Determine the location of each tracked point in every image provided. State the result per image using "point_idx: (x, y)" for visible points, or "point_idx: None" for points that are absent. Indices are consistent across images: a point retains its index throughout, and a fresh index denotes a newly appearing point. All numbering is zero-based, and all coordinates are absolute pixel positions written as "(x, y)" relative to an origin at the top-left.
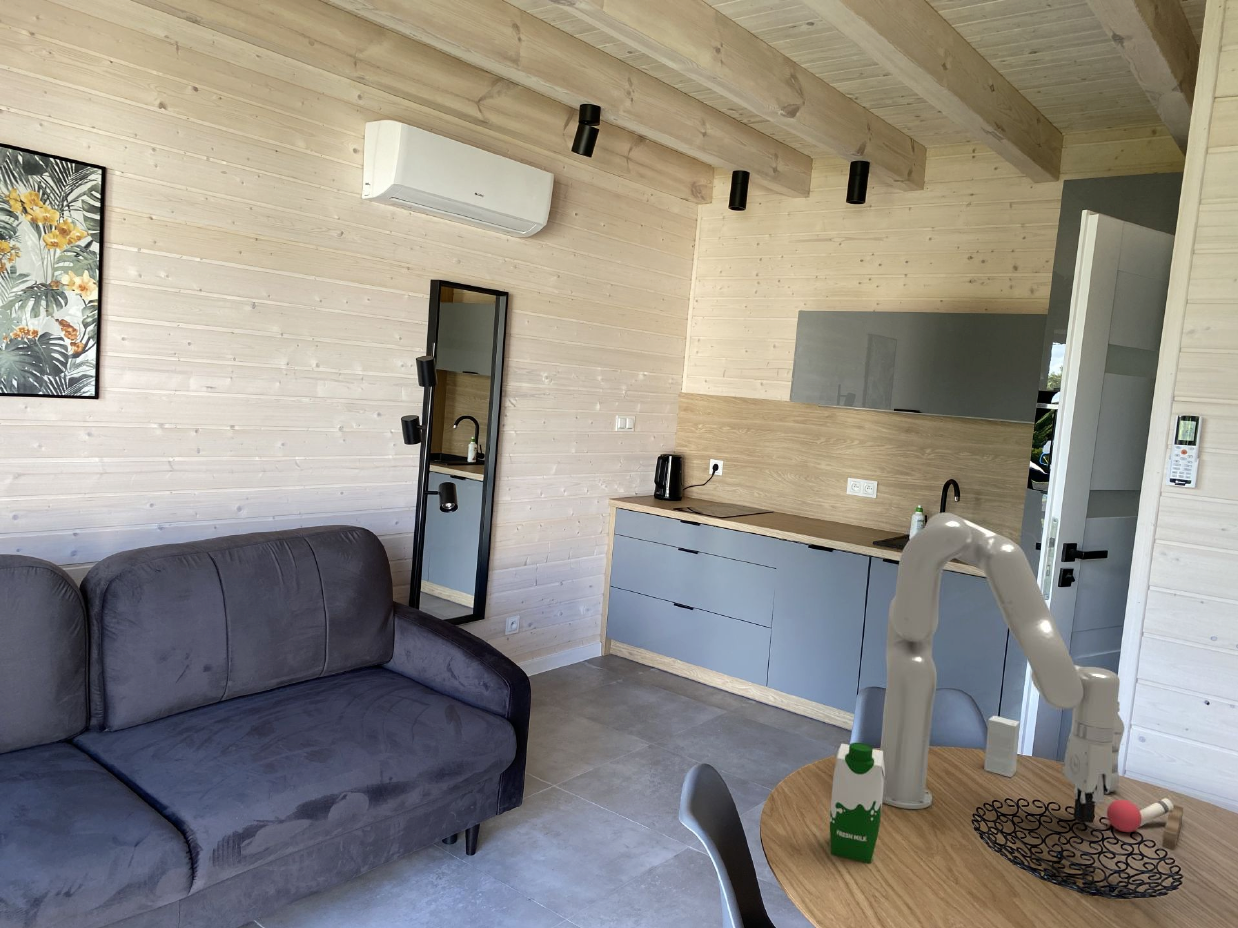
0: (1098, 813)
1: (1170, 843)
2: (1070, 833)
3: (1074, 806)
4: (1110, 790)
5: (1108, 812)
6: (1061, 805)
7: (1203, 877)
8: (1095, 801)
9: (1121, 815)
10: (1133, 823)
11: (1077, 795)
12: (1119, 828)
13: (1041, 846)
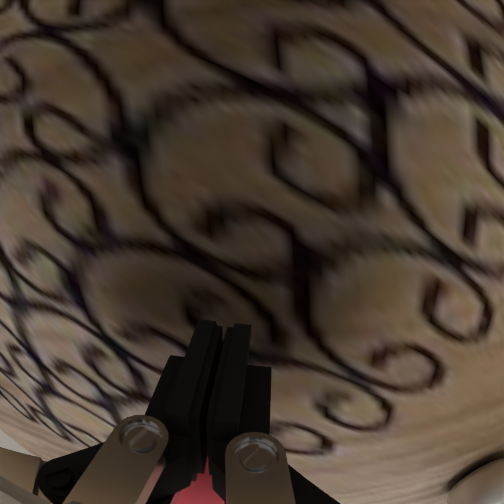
0: (361, 443)
1: None
2: (131, 218)
3: (244, 373)
4: (450, 492)
5: None
6: (455, 349)
7: (11, 423)
8: (2, 448)
9: None
10: None
11: (226, 458)
12: None
13: (12, 16)
